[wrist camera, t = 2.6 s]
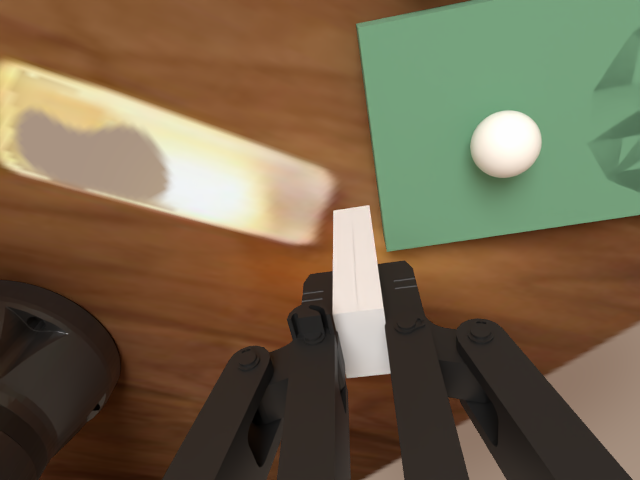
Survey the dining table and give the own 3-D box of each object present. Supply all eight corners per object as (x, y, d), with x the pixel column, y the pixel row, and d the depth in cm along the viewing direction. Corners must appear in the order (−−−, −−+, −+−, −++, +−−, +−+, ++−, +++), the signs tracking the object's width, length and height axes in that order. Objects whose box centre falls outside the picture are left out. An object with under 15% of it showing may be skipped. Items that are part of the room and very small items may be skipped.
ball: (463, 168, 27) (480, 193, 24) (462, 109, 25) (480, 128, 22) (524, 158, 27) (550, 182, 23) (528, 97, 25) (556, 115, 22)
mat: (383, 236, 32) (391, 272, 28) (355, 23, 25) (360, 33, 21) (768, 179, 29) (833, 209, 25) (860, -79, 22) (969, -89, 18)
